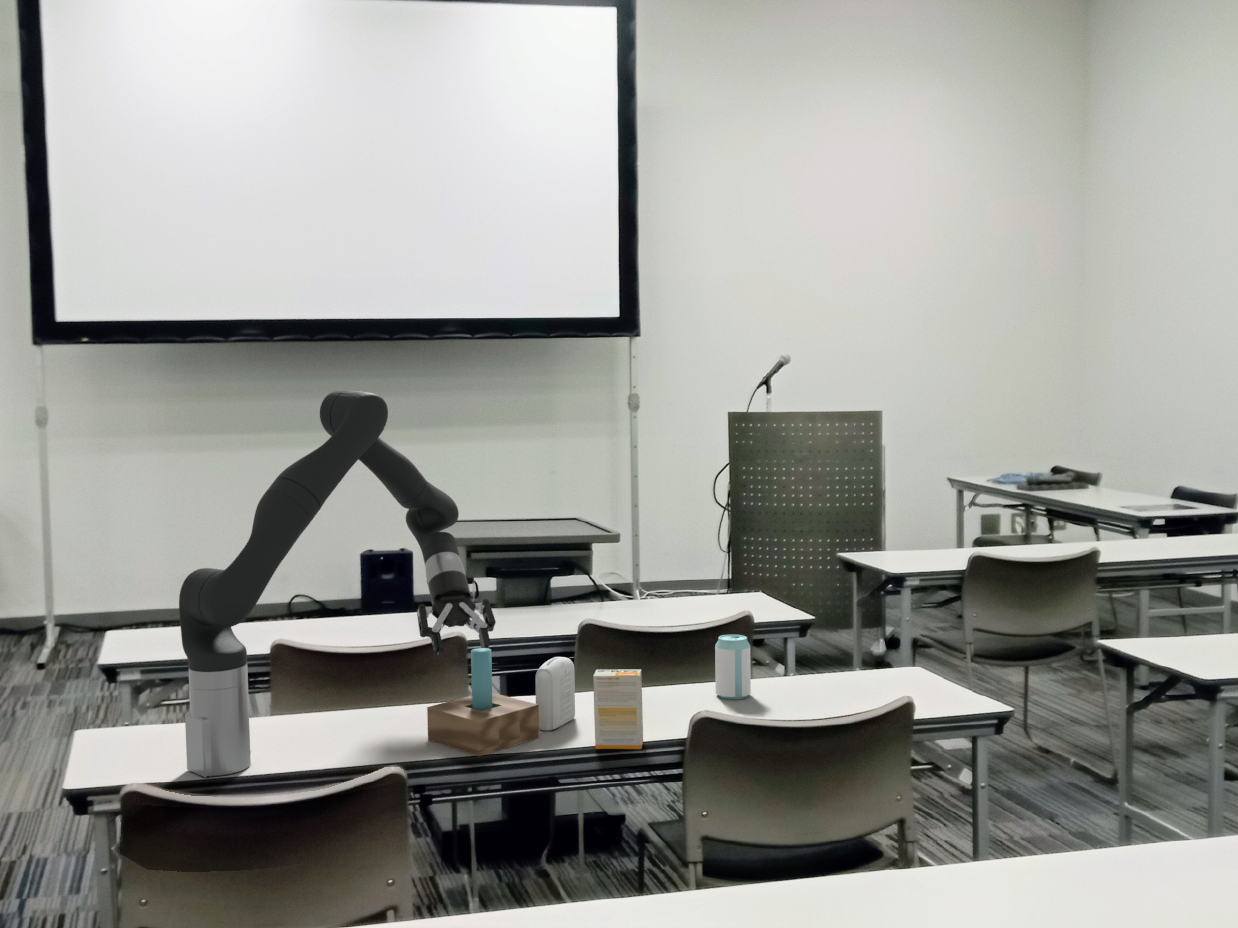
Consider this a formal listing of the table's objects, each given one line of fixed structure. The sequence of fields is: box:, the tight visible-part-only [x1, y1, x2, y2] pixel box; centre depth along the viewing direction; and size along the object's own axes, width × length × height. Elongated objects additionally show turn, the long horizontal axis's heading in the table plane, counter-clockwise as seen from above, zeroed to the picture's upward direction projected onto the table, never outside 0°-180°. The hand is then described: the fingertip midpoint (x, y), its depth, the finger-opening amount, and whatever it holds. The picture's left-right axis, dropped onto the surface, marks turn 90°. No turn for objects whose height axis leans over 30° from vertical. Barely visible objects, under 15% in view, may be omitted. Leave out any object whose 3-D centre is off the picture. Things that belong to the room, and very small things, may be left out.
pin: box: [470, 647, 493, 711], centre depth 206 cm, size 4×4×15 cm
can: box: [714, 634, 752, 700], centre depth 233 cm, size 7×7×12 cm
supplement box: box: [592, 668, 644, 750], centre depth 201 cm, size 8×5×13 cm, turn 84°
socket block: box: [426, 692, 540, 757], centre depth 206 cm, size 14×14×6 cm
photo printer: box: [535, 656, 576, 732], centre depth 215 cm, size 10×4×12 cm, turn 157°
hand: (463, 650), depth 215 cm, fingers open, 8 cm apart
